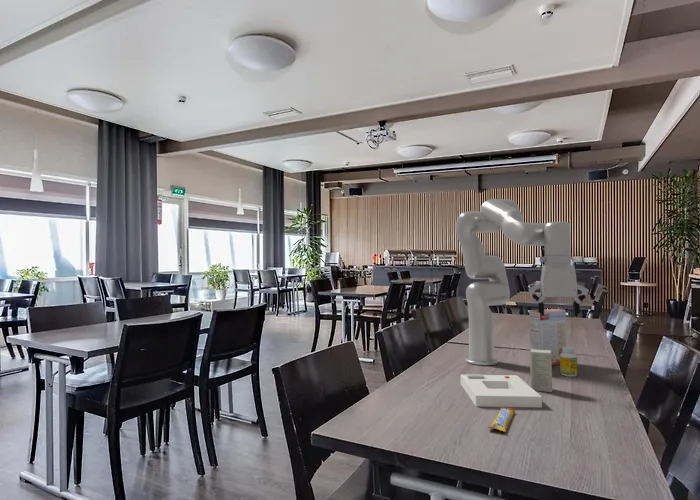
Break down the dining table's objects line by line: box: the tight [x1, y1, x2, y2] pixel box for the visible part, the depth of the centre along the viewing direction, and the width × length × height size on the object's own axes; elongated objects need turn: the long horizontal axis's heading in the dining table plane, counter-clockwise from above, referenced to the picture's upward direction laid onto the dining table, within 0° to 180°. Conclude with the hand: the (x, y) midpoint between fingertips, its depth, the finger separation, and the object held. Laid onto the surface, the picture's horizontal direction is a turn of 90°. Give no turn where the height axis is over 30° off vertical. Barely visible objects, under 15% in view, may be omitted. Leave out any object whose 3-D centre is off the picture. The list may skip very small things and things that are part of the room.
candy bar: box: [486, 407, 516, 433], centre depth 112 cm, size 17×4×2 cm, turn 151°
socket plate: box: [460, 373, 543, 408], centre depth 134 cm, size 22×18×4 cm
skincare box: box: [529, 349, 553, 393], centre depth 139 cm, size 6×4×12 cm
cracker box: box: [528, 308, 567, 366], centre depth 173 cm, size 14×6×21 cm, turn 115°
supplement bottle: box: [559, 346, 578, 378], centre depth 156 cm, size 5×5×10 cm
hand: (558, 315), depth 140 cm, fingers open, 9 cm apart
